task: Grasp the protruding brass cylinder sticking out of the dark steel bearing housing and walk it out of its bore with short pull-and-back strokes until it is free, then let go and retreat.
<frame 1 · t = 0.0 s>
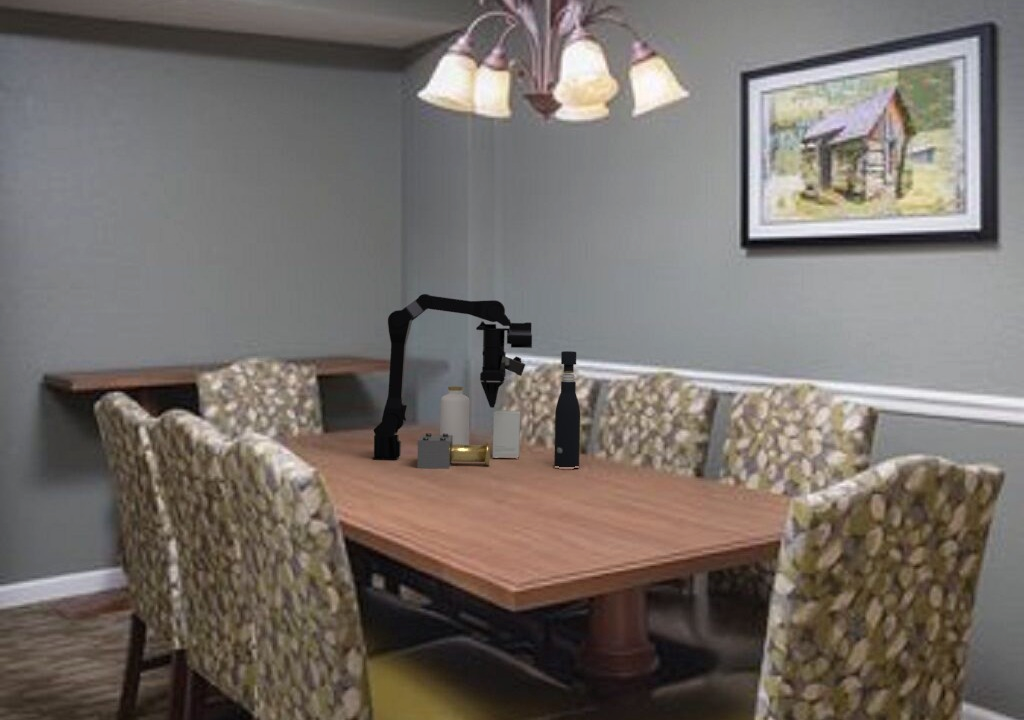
hand: (492, 405, 302), 15 cm above the table, fingers open, 9 cm apart
supplement box: (506, 458, 308), on the table
housing: (435, 464, 293), on the table
white bottle: (454, 450, 322), on the table
black water bottle: (566, 468, 291), on the table
brass cylinder: (458, 453, 292), point 3 cm above the table, slide at 0.0 cm
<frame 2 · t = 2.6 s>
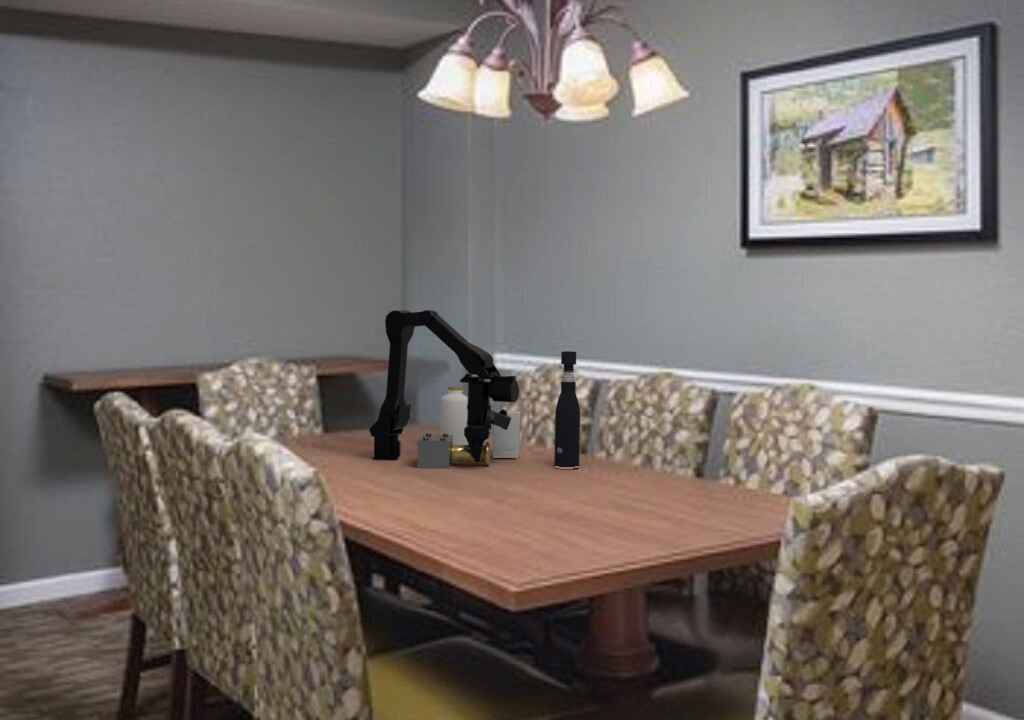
hand: (477, 460, 293), 1 cm above the table, fingers closed on brass cylinder, 4 cm apart
brass cylinder: (458, 453, 292), point 3 cm above the table, slide at 0.0 cm, touching gripper
everything else where it was.
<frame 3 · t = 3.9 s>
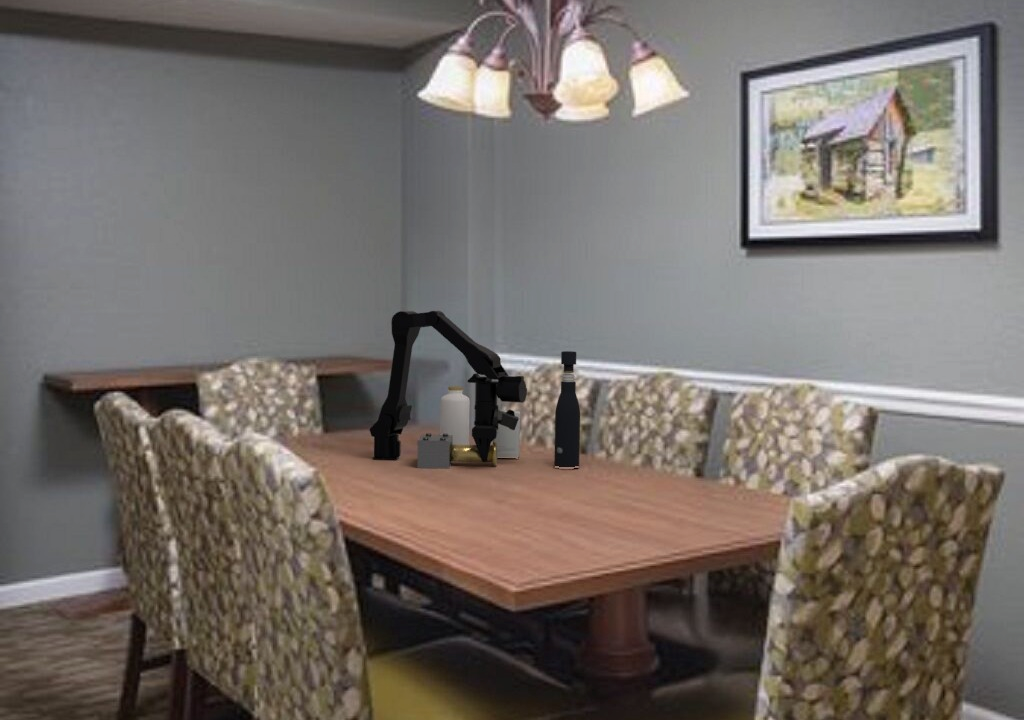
hand: (485, 460, 292), 1 cm above the table, fingers closed on brass cylinder, 4 cm apart
brass cylinder: (465, 453, 292), point 3 cm above the table, slide at 1.9 cm, touching gripper
everything else where it was.
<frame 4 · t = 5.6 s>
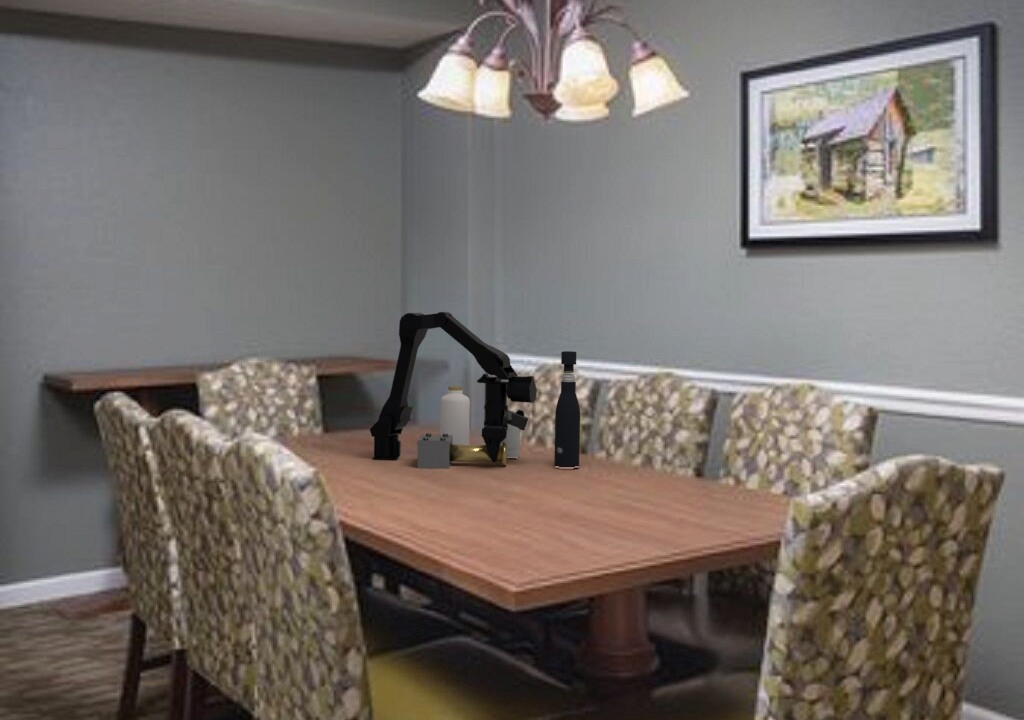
hand: (494, 461, 292), 1 cm above the table, fingers closed on brass cylinder, 4 cm apart
brass cylinder: (475, 453, 292), point 3 cm above the table, slide at 4.4 cm, touching gripper
everything else where it was.
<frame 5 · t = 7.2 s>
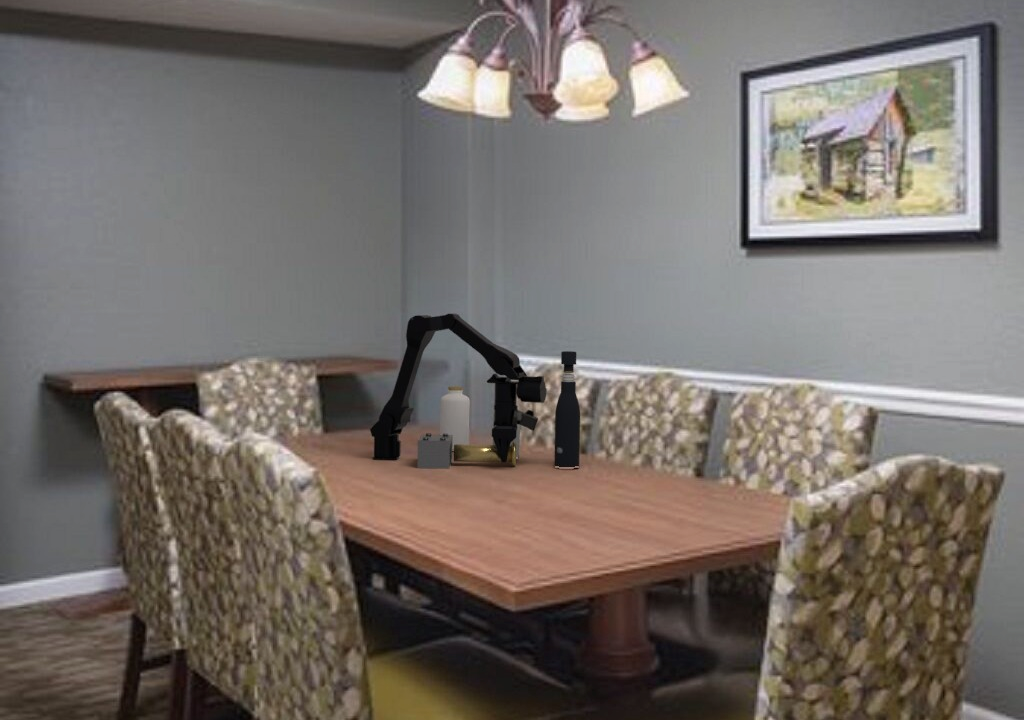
hand: (504, 461, 292), 1 cm above the table, fingers closed on brass cylinder, 4 cm apart
brass cylinder: (485, 453, 292), point 3 cm above the table, slide at 6.9 cm, touching gripper
everything else where it was.
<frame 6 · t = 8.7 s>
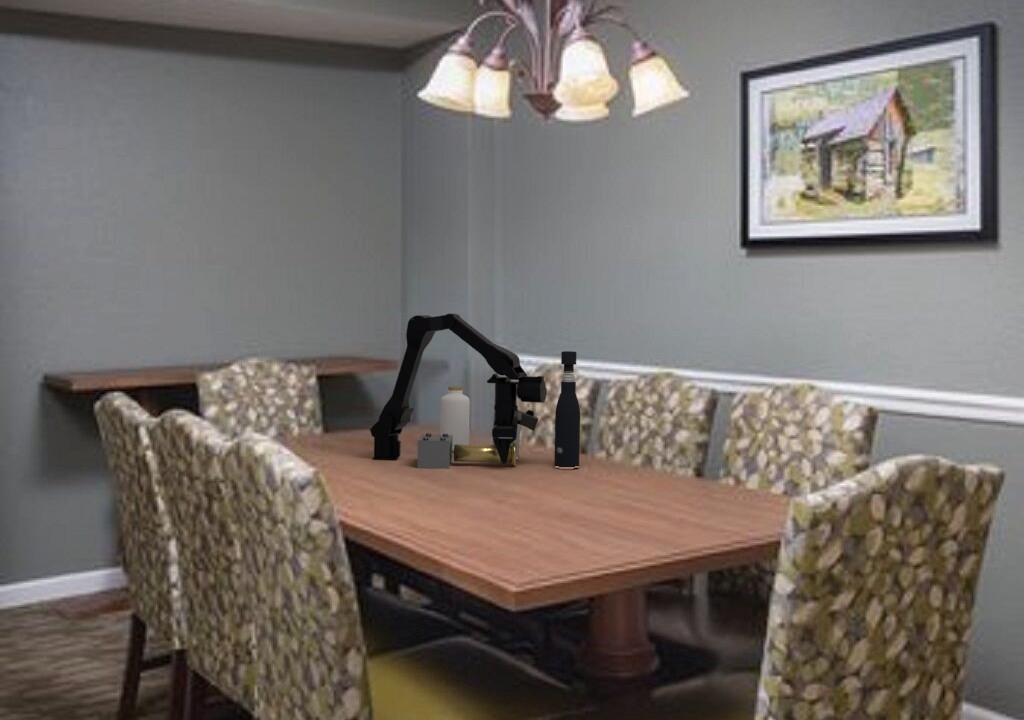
hand: (504, 461, 292), 1 cm above the table, fingers open, 9 cm apart
brass cylinder: (485, 453, 292), point 3 cm above the table, slide at 6.9 cm
everything else where it was.
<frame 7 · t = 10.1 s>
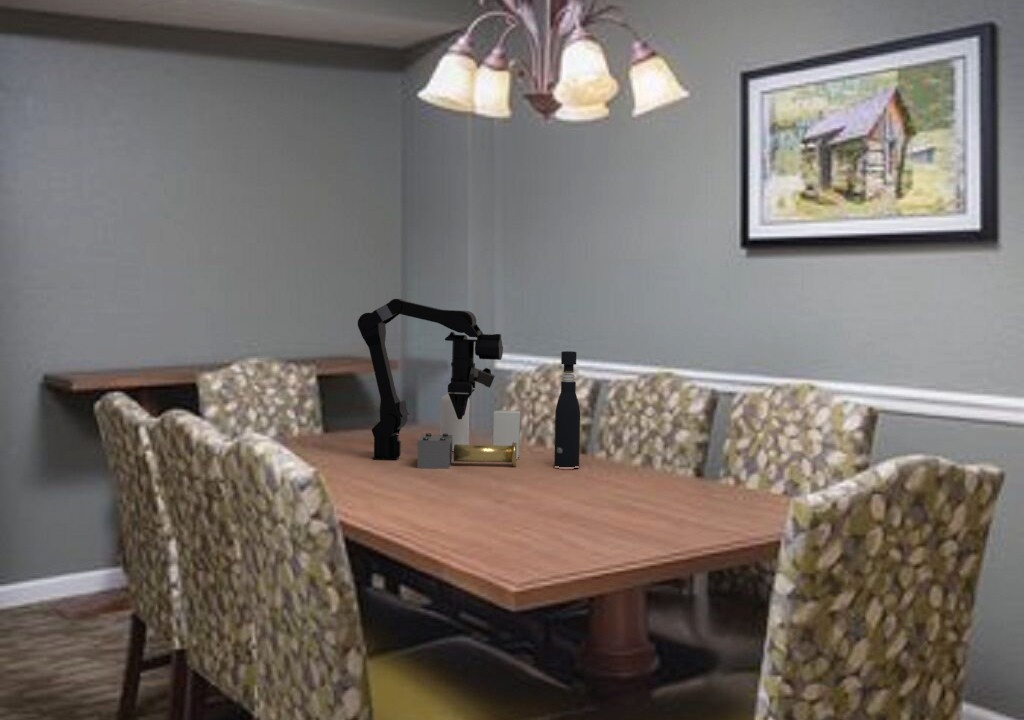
hand: (461, 417, 299), 12 cm above the table, fingers open, 9 cm apart
nothing on the table moved.
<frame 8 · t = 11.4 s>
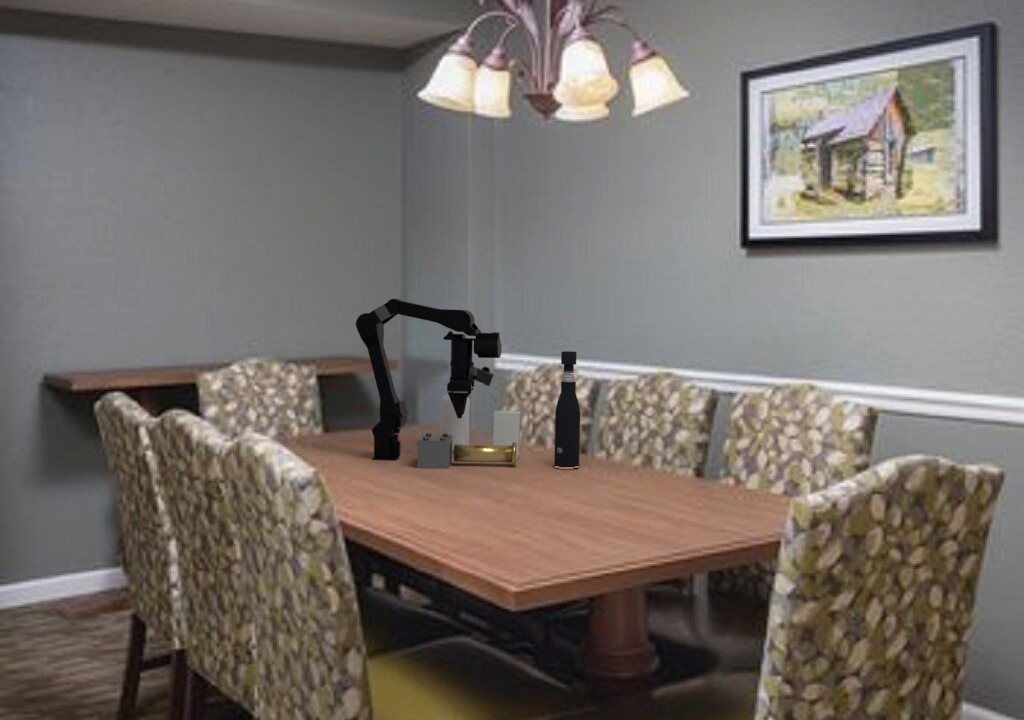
hand: (460, 416, 299), 12 cm above the table, fingers open, 9 cm apart
nothing on the table moved.
at the end: brass cylinder slide at 6.9 cm; the gripper is holding nothing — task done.
